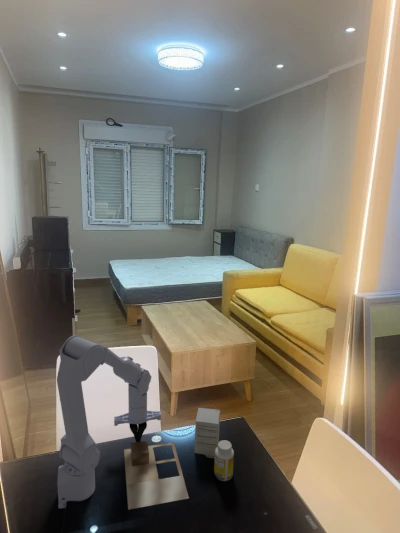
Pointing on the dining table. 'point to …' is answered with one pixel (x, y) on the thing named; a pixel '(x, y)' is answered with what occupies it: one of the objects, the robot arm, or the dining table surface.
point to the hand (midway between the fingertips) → (137, 441)
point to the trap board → (152, 481)
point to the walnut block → (139, 453)
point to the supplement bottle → (224, 461)
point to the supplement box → (207, 431)
